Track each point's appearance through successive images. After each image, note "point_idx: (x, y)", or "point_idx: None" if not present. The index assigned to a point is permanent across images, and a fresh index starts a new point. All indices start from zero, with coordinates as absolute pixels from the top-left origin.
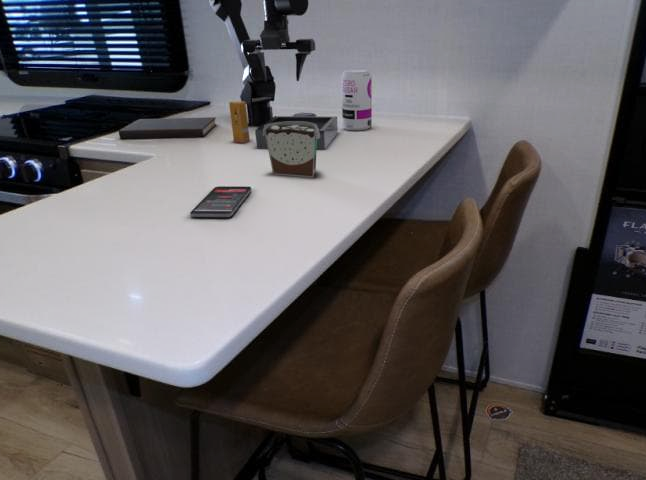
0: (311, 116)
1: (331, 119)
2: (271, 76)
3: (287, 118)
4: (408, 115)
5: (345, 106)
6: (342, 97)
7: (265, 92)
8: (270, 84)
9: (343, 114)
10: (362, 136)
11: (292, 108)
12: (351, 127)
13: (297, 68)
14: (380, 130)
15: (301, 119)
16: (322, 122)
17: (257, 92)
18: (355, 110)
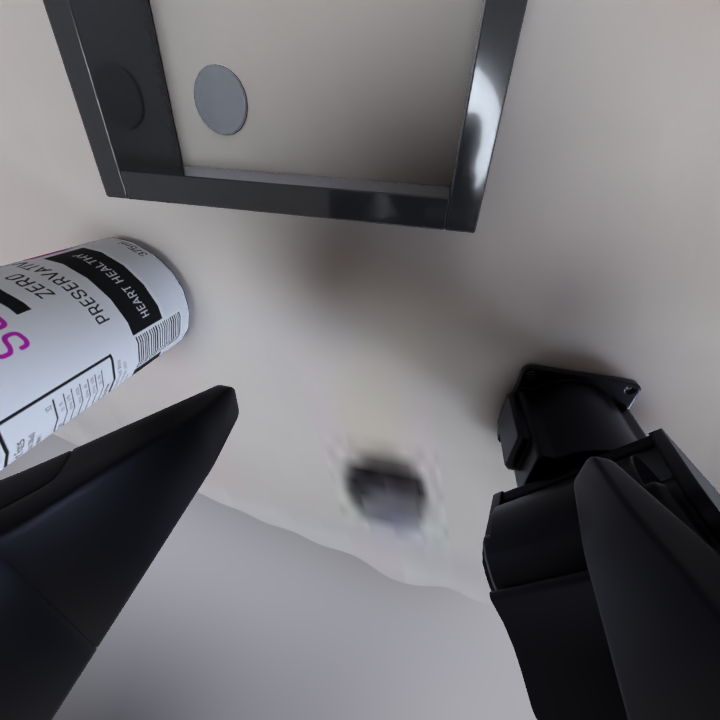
0: (238, 204)
1: (86, 90)
2: (514, 620)
3: (384, 190)
4: (91, 439)
5: (79, 288)
6: (69, 334)
7: (555, 491)
8: (520, 548)
9: (132, 291)
10: (48, 123)
11: (440, 582)
12: (128, 243)
13: (105, 457)
14: (50, 246)
15: (297, 184)
16: (190, 173)
17: (631, 470)
18: (40, 257)
